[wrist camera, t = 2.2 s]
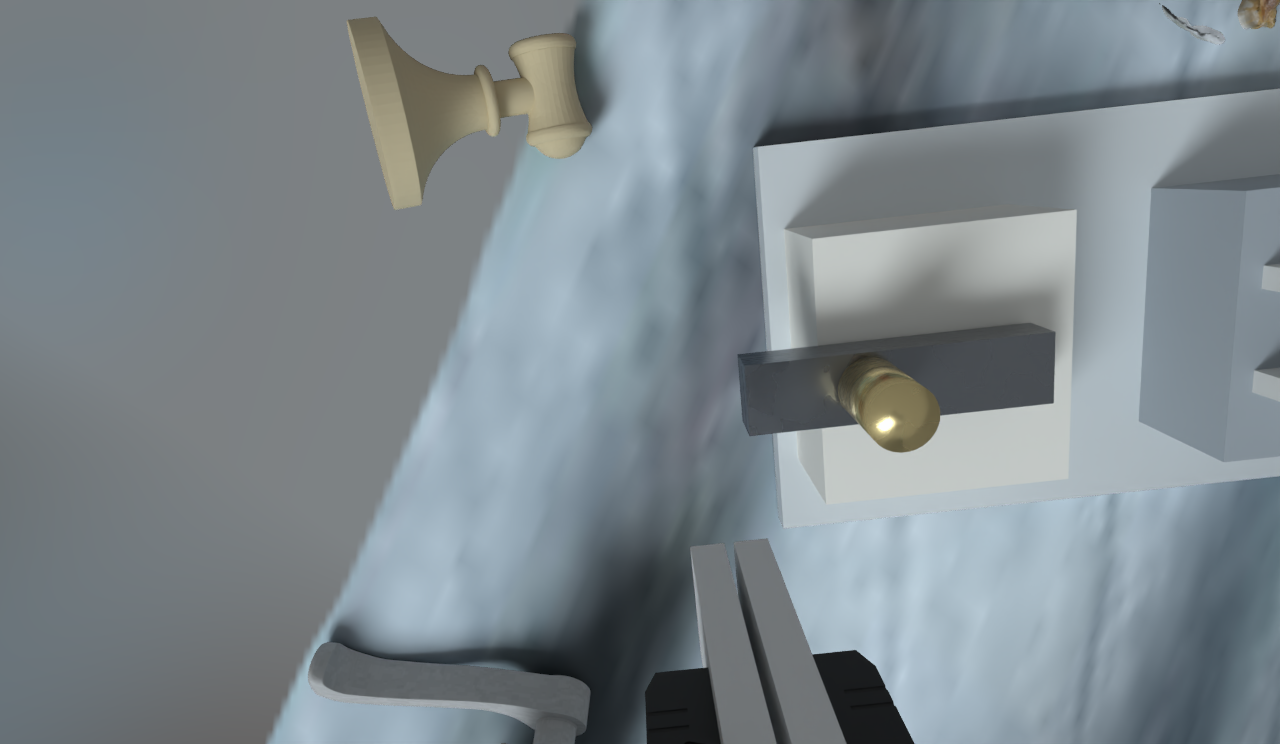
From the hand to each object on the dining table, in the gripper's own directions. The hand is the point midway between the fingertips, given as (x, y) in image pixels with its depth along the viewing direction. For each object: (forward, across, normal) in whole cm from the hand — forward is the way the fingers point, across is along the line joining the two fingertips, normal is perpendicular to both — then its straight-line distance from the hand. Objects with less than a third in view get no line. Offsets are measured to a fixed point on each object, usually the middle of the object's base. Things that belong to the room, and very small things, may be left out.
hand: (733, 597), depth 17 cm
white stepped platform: (+24, -20, 0) cm, 32 cm away
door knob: (+25, +8, -13) cm, 29 cm away
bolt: (+17, -9, 0) cm, 19 cm away
